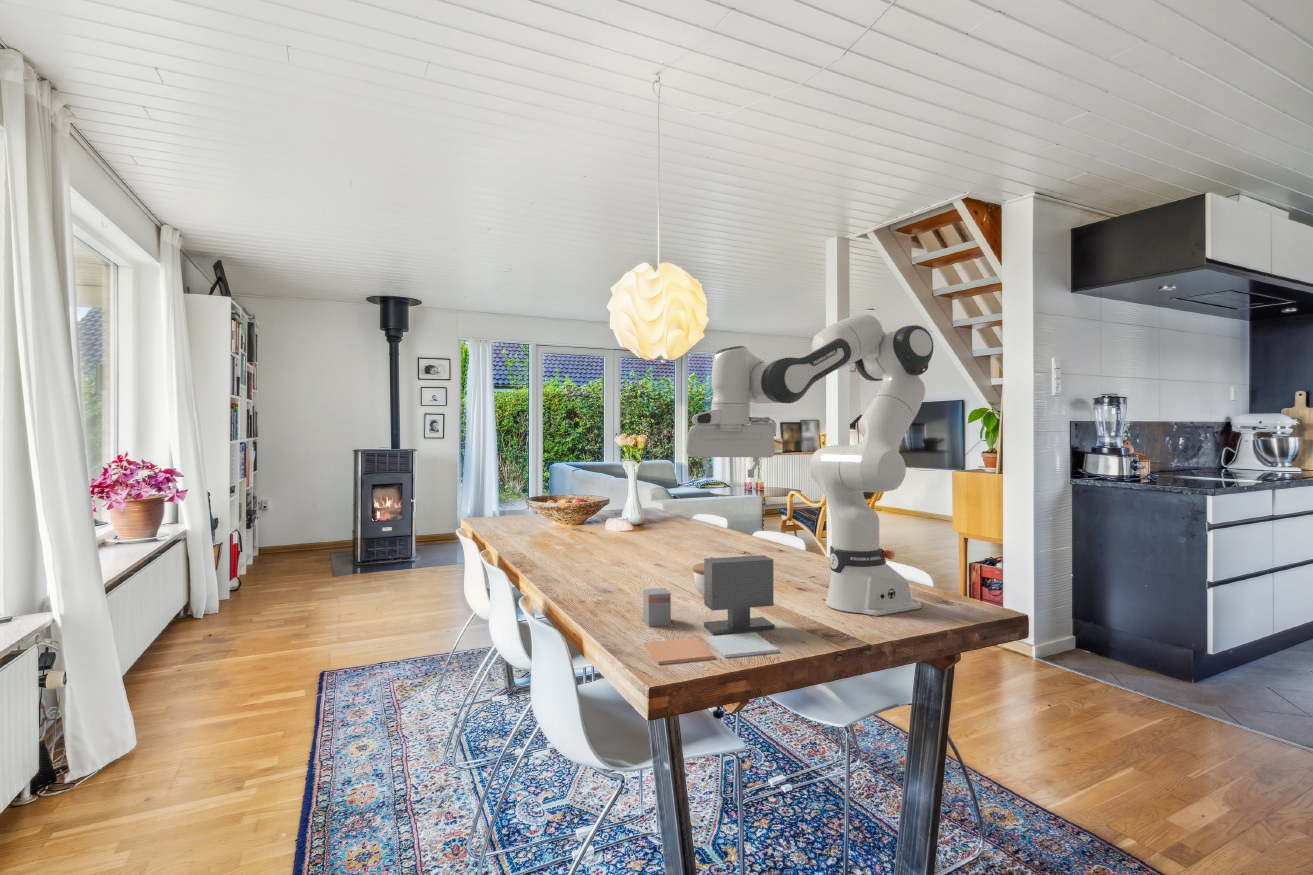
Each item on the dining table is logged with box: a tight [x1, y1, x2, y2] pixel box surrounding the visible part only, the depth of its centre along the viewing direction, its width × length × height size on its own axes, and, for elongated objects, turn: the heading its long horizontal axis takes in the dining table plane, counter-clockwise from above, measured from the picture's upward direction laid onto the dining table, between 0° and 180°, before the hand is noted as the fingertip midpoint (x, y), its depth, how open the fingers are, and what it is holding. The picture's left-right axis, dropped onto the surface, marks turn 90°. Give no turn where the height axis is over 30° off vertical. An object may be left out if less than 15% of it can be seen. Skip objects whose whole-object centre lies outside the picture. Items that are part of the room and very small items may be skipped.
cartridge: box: [642, 587, 672, 628], centre depth 147 cm, size 5×5×7 cm
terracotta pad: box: [643, 637, 716, 665], centre depth 127 cm, size 11×11×1 cm
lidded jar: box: [692, 562, 704, 598], centre depth 169 cm, size 11×11×9 cm
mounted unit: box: [703, 554, 775, 636], centre depth 142 cm, size 14×6×15 cm, turn 105°
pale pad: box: [705, 631, 779, 659], centre depth 131 cm, size 11×11×1 cm
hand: (730, 477), depth 151 cm, fingers open, 8 cm apart
